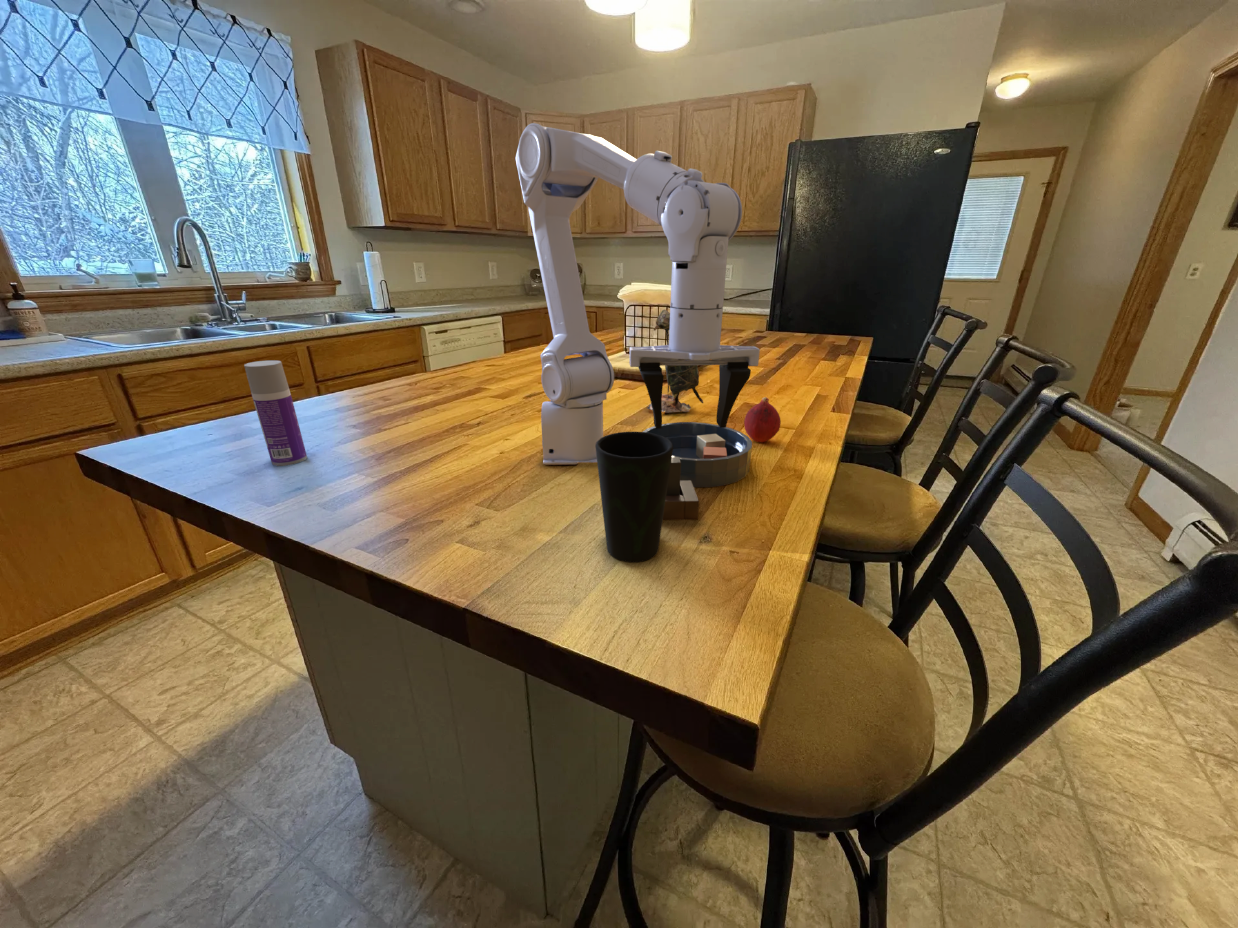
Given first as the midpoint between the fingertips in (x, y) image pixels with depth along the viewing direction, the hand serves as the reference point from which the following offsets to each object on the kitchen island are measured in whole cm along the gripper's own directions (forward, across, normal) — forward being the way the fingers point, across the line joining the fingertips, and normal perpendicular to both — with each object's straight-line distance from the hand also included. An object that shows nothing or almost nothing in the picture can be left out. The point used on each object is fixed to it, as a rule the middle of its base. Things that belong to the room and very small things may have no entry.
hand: (689, 425), depth 59 cm
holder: (+10, -2, -3) cm, 11 cm away
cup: (+11, -7, -10) cm, 17 cm away
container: (+10, -59, +17) cm, 62 cm away
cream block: (+10, +6, +14) cm, 18 cm away
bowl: (+10, +3, +11) cm, 16 cm away
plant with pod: (+11, +5, +41) cm, 43 cm away
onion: (+11, +16, +21) cm, 29 cm away
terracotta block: (+10, +5, +8) cm, 14 cm away
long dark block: (+10, -2, -2) cm, 11 cm away
